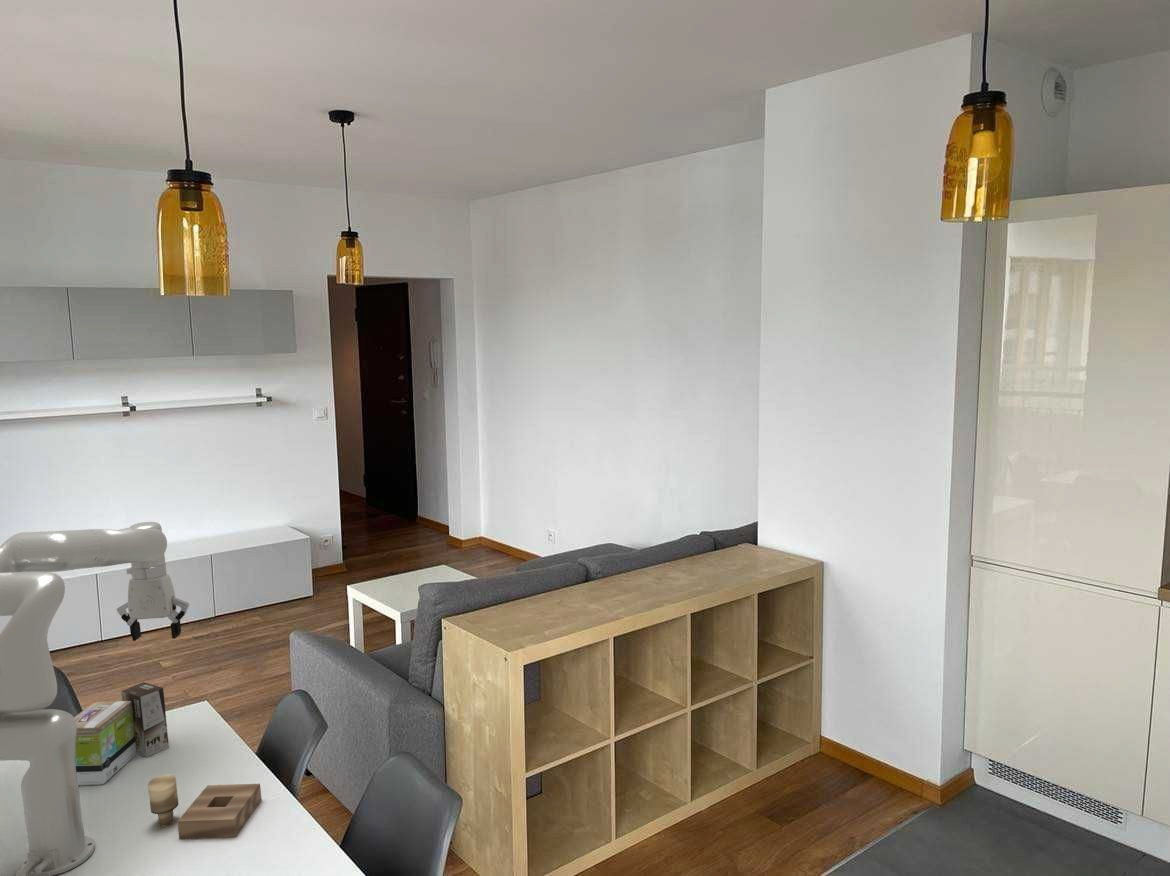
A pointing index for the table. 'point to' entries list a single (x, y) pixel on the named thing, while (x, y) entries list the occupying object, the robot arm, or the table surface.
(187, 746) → the table surface
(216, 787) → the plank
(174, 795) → the peg
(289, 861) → the table surface
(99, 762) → the tea box
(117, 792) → the table surface
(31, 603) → the robot arm
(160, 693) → the coffee box
